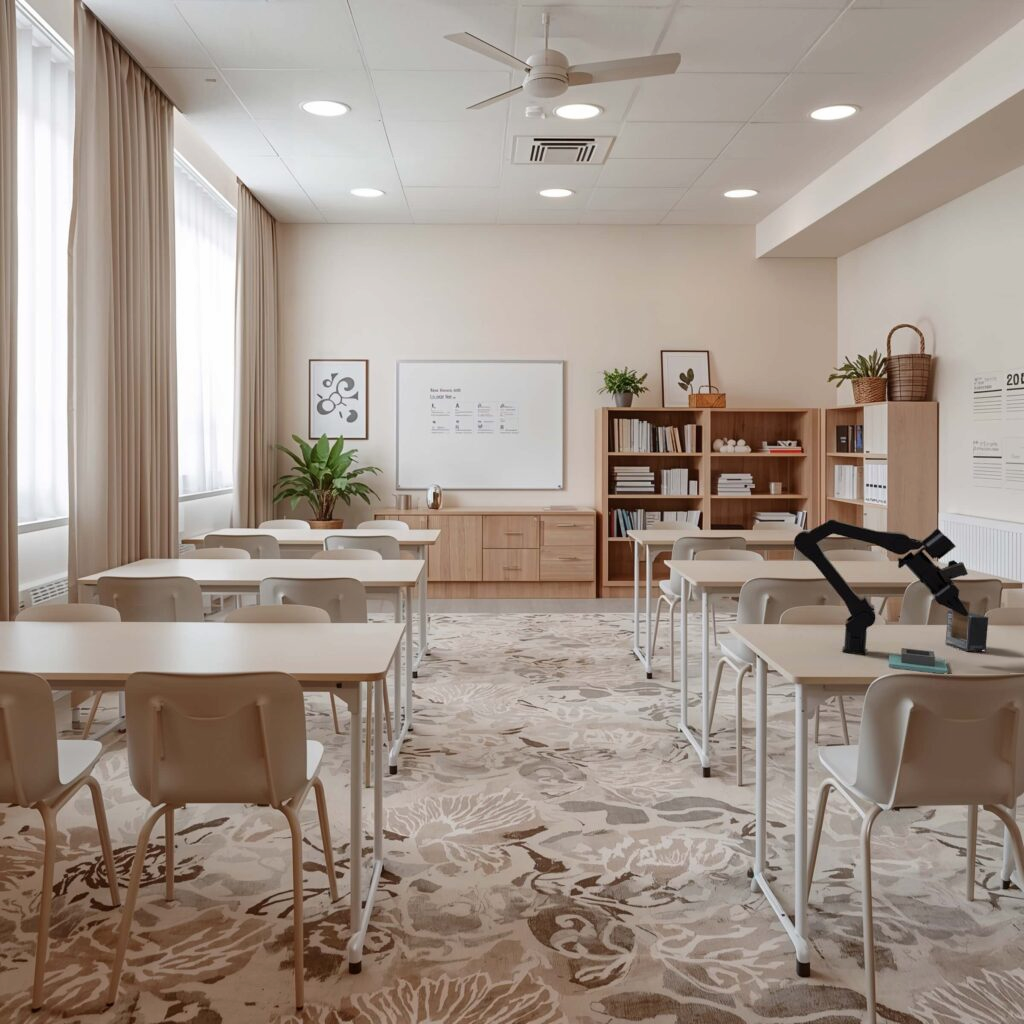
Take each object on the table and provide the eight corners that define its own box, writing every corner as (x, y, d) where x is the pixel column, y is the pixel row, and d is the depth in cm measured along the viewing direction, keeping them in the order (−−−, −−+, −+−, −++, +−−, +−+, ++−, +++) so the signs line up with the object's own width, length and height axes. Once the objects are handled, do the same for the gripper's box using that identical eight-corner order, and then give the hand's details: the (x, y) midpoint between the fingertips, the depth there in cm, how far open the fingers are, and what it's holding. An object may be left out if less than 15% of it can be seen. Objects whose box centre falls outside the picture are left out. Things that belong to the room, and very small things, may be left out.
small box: (987, 652, 261) (990, 616, 260) (967, 652, 260) (970, 616, 259) (963, 644, 272) (966, 610, 271) (944, 644, 271) (946, 610, 270)
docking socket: (888, 657, 250) (889, 644, 250) (944, 663, 245) (945, 650, 244) (888, 667, 237) (889, 654, 237) (947, 674, 232) (948, 661, 231)
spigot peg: (951, 635, 248) (954, 599, 247) (967, 637, 246) (970, 601, 245) (950, 637, 245) (953, 601, 244) (966, 639, 243) (969, 603, 242)
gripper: (952, 554, 236) (996, 600, 233) (946, 548, 254) (987, 590, 250) (917, 581, 240) (960, 626, 237) (914, 573, 257) (953, 615, 254)
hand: (966, 614), depth 244 cm, fingers closed on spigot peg, 4 cm apart
